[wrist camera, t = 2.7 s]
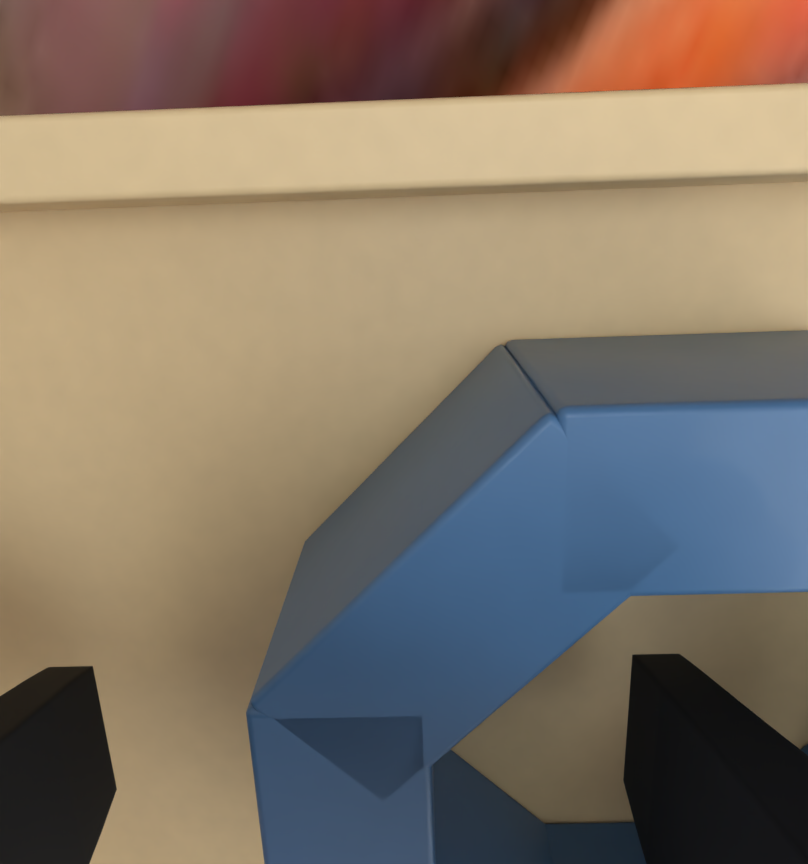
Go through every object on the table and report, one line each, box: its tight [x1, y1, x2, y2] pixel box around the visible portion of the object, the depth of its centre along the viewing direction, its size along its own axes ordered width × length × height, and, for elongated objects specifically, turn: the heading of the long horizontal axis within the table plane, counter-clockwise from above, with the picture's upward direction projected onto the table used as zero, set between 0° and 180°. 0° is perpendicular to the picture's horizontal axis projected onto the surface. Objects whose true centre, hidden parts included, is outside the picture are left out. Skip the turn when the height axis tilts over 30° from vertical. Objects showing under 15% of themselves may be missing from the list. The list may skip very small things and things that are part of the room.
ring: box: [246, 330, 808, 864], centre depth 9 cm, size 10×10×4 cm
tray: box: [0, 83, 808, 864], centre depth 10 cm, size 15×19×2 cm
